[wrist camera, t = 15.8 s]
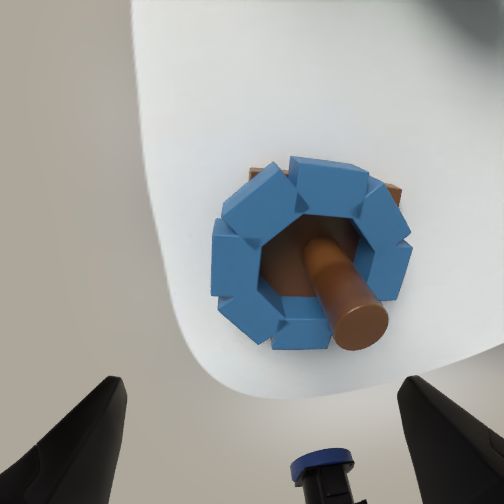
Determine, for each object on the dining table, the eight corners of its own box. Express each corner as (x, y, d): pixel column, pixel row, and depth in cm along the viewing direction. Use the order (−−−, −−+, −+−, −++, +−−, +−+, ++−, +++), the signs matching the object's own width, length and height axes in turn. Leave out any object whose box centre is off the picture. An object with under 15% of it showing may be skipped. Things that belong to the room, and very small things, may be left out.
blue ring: (366, 325, 20) (378, 346, 18) (212, 323, 19) (210, 348, 17) (406, 173, 16) (429, 183, 14) (219, 150, 15) (216, 155, 13)
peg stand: (362, 306, 21) (409, 388, 14) (238, 303, 20) (242, 402, 13) (393, 184, 17) (478, 233, 10) (249, 167, 17) (262, 210, 9)
